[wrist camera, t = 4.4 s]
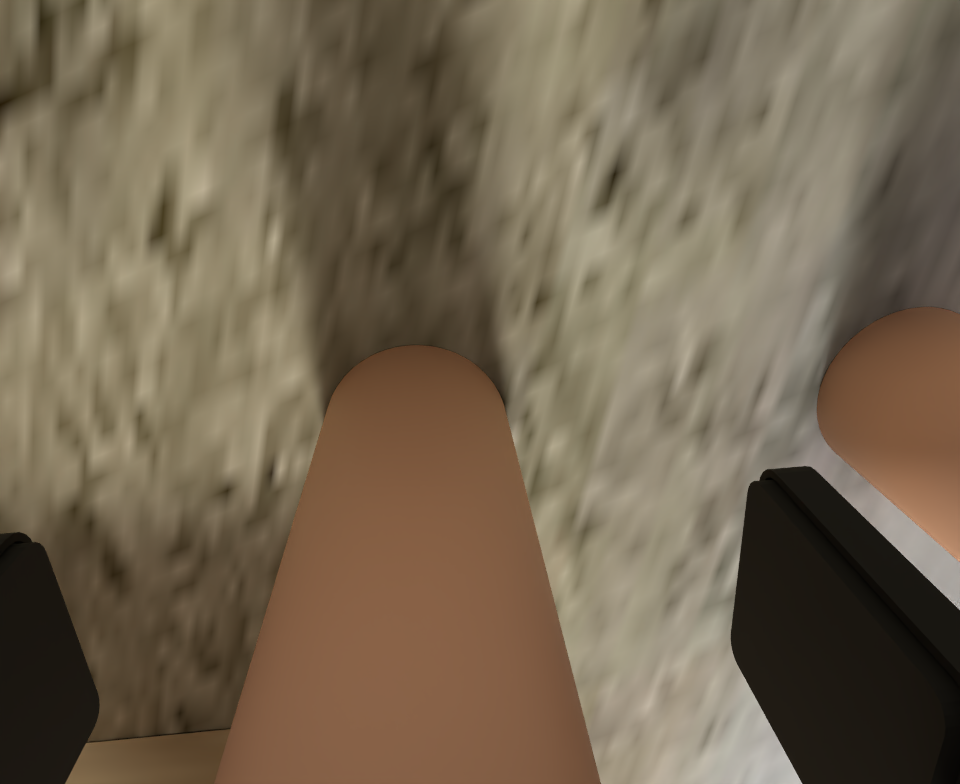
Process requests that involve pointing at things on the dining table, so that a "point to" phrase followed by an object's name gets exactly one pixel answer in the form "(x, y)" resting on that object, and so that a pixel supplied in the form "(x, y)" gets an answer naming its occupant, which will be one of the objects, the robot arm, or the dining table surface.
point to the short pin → (902, 415)
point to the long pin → (411, 602)
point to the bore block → (152, 760)
